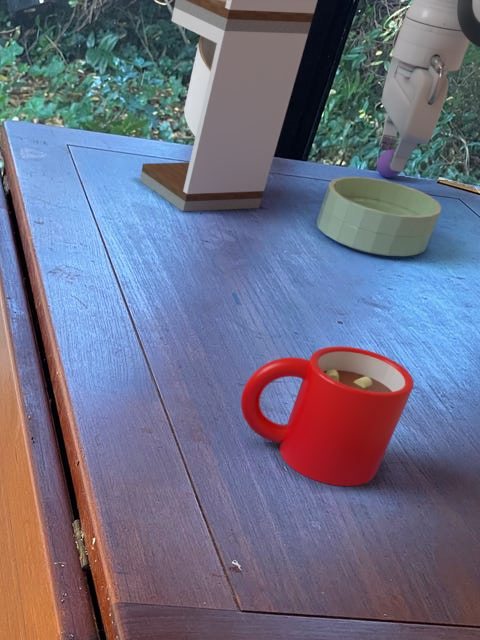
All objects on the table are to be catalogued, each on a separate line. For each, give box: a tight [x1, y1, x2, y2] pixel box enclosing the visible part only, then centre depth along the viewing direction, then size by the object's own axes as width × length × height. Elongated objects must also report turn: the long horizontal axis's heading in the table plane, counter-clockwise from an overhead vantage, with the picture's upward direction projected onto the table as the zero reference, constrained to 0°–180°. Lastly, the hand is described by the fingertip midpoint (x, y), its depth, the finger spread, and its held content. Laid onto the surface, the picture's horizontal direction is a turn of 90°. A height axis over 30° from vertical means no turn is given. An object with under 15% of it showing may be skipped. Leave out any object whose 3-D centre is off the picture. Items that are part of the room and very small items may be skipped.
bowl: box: [316, 175, 443, 257], centre depth 120 cm, size 13×13×5 cm
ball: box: [376, 148, 400, 178], centre depth 140 cm, size 4×4×4 cm
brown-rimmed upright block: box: [139, 0, 318, 212], centre depth 114 cm, size 11×11×35 cm
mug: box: [240, 345, 414, 487], centre depth 78 cm, size 8×12×8 cm, turn 77°
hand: (390, 159), depth 140 cm, fingers open, 8 cm apart
